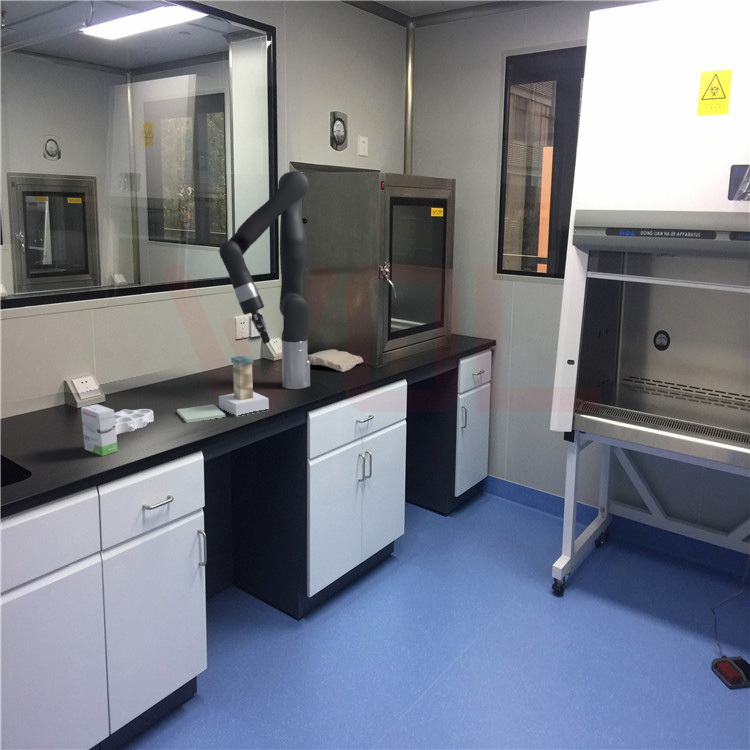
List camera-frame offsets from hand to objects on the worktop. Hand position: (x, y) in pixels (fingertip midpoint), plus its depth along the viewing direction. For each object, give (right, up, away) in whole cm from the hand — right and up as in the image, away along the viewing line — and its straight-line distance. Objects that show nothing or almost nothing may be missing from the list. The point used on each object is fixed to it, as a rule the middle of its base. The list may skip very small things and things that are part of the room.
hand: (267, 342), depth 231 cm
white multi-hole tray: (-37, -27, -32) cm, 56 cm away
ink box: (-36, -32, -52) cm, 71 cm away
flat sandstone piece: (+17, -8, +48) cm, 52 cm away
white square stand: (-5, -22, -14) cm, 27 cm away
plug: (-5, -22, -14) cm, 27 cm away
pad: (-17, -24, -21) cm, 36 cm away
